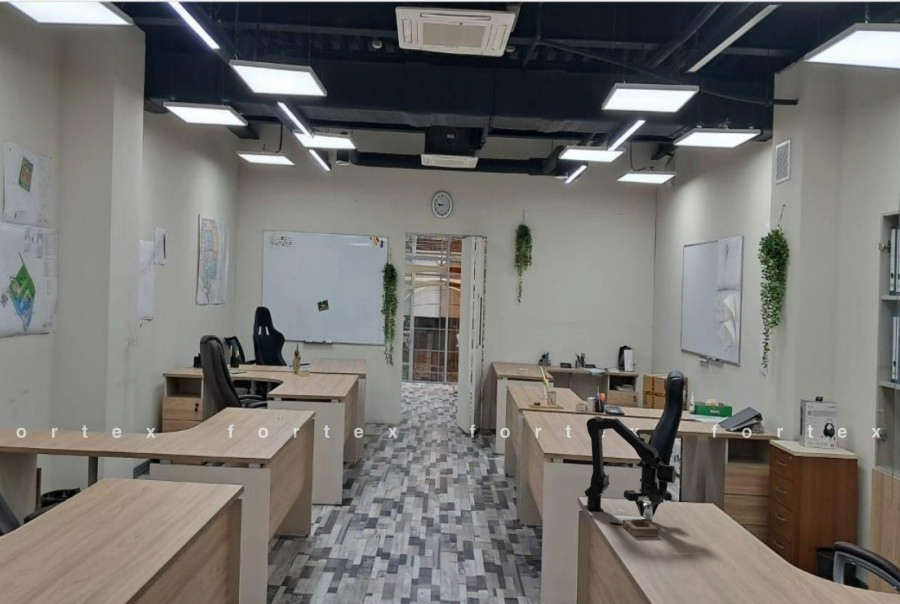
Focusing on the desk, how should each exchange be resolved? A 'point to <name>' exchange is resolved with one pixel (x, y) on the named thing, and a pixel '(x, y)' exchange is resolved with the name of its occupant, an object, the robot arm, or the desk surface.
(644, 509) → the metal cylinder
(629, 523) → the frame
